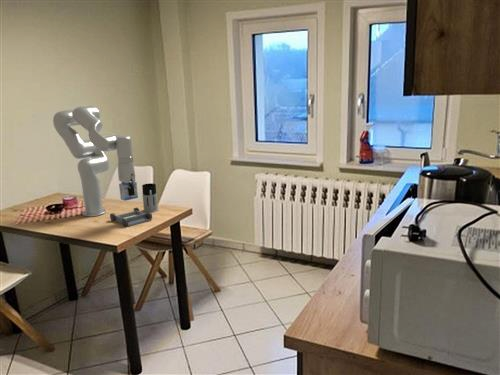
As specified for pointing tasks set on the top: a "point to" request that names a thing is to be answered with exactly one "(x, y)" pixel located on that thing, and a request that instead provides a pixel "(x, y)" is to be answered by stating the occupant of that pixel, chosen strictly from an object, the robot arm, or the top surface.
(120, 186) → the medicine box
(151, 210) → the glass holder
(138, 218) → the chassis
